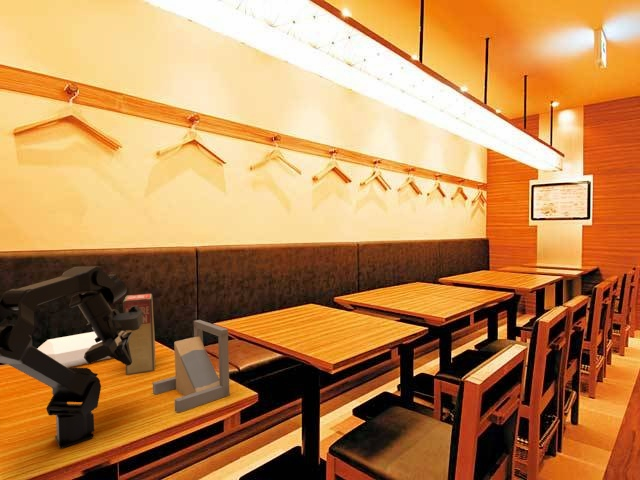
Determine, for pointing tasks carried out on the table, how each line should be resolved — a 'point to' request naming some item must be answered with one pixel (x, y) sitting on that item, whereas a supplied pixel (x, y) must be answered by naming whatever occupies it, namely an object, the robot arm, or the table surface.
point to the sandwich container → (193, 367)
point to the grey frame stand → (223, 388)
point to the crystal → (70, 348)
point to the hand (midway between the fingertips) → (130, 364)
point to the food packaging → (141, 335)
